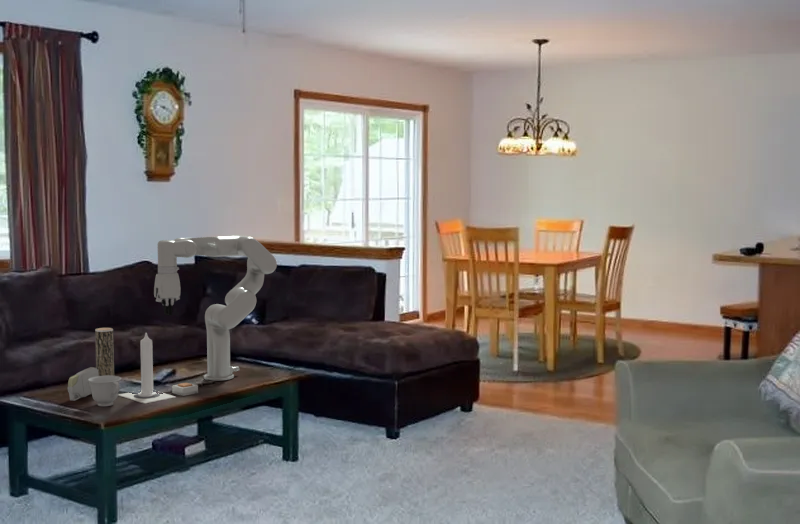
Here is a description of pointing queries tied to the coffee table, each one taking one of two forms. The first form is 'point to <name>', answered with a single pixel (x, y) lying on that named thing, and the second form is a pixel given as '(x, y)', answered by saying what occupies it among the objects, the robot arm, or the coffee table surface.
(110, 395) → the teacup
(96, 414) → the coffee table surface
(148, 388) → the candle
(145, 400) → the paper sheet
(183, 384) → the button
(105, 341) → the wooden log
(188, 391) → the button housing
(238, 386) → the coffee table surface
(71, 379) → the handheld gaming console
